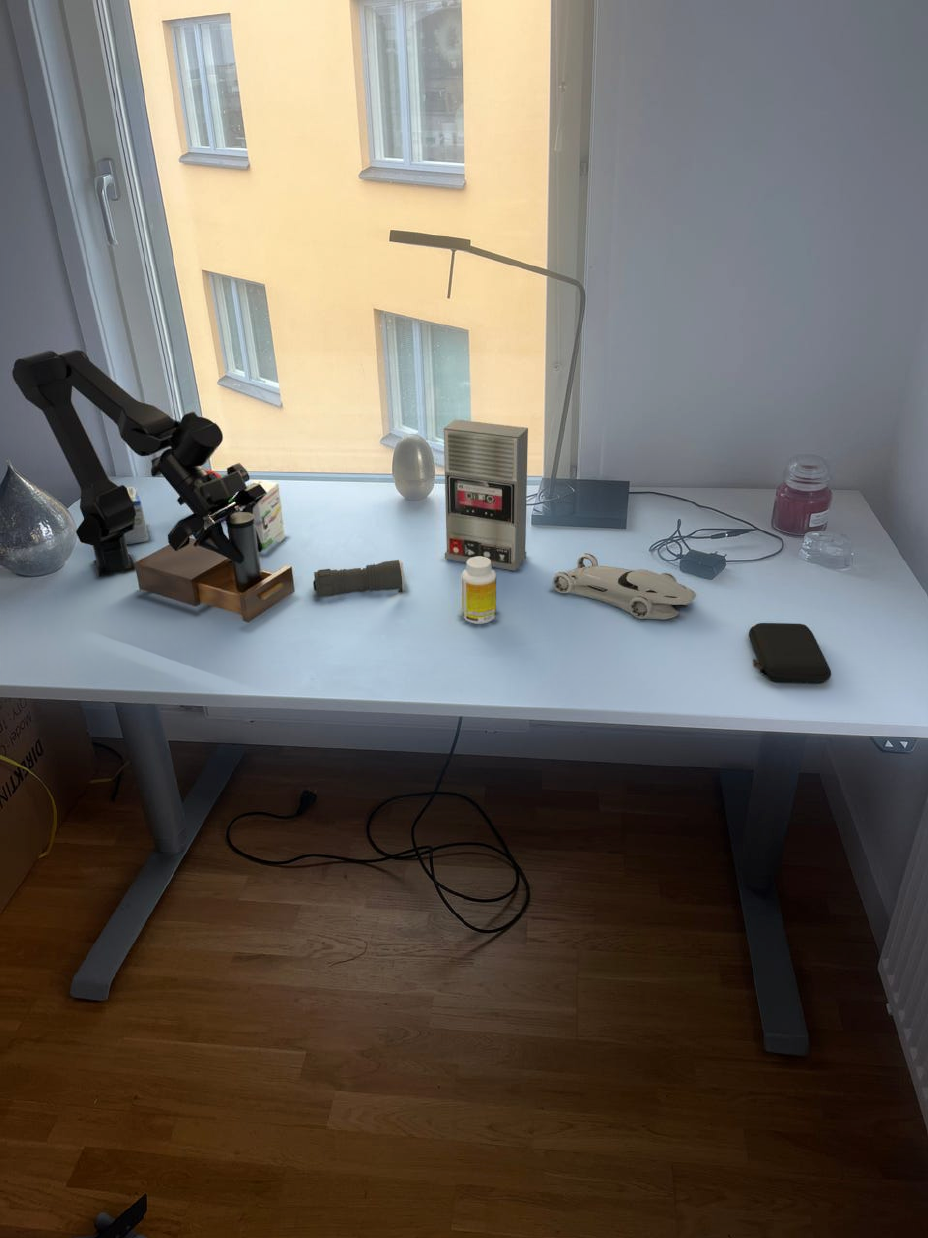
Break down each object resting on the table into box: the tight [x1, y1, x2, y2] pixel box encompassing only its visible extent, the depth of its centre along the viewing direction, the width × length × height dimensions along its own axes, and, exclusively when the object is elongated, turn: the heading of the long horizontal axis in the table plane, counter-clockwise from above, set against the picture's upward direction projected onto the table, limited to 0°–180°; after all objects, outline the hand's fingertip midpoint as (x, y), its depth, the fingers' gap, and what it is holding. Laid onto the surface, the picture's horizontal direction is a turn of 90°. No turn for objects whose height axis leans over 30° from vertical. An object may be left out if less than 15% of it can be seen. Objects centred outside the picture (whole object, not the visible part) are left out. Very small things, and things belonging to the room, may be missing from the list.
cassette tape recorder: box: [443, 419, 529, 572], centre depth 166 cm, size 14×6×25 cm, turn 68°
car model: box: [552, 552, 697, 621], centre depth 158 cm, size 11×24×5 cm, turn 55°
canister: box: [224, 512, 262, 593], centre depth 153 cm, size 5×5×13 cm
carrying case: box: [748, 622, 832, 685], centre depth 141 cm, size 11×3×15 cm
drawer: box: [196, 561, 296, 623], centre depth 157 cm, size 14×12×6 cm
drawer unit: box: [133, 537, 232, 607], centre depth 162 cm, size 13×12×6 cm
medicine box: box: [124, 486, 149, 545], centre depth 182 cm, size 8×4×9 cm, turn 23°
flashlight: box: [312, 559, 406, 598], centre depth 160 cm, size 15×5×5 cm, turn 102°
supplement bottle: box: [461, 556, 497, 625], centre depth 152 cm, size 6×6×10 cm
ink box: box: [248, 479, 286, 550], centre depth 176 cm, size 8×5×12 cm, turn 163°
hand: (251, 556), depth 152 cm, fingers closed on canister, 4 cm apart
